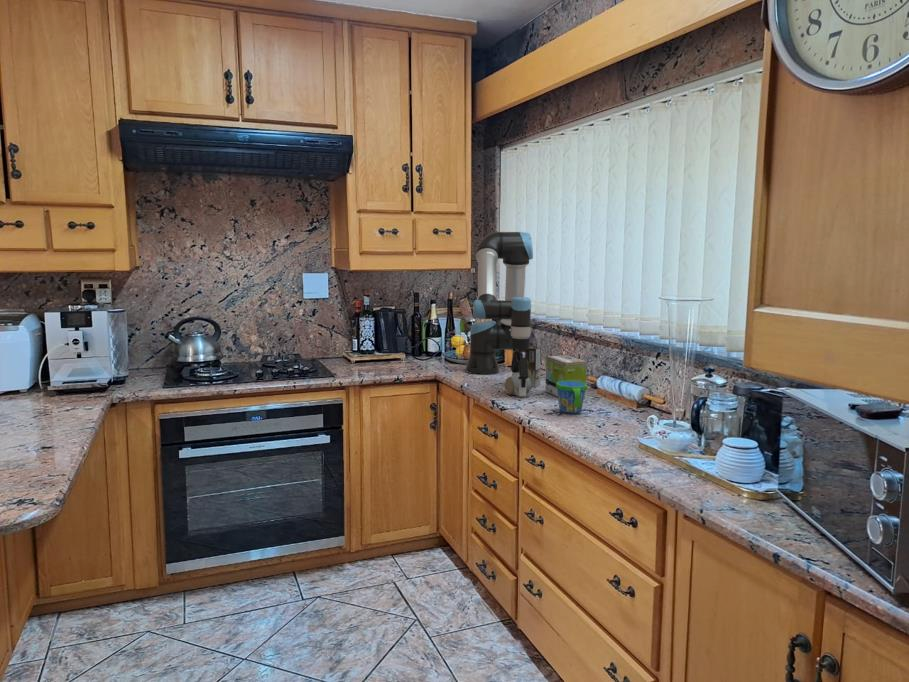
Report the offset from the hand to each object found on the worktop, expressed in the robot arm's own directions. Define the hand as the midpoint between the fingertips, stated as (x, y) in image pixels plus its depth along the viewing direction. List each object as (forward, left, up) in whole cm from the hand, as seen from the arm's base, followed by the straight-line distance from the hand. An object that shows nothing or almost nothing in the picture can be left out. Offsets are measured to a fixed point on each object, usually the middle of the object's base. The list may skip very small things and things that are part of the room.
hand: (518, 392), depth 260 cm
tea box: (+2, +18, -1) cm, 18 cm away
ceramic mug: (0, 0, -1) cm, 1 cm away
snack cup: (+29, +12, -1) cm, 31 cm away
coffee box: (-18, +8, -1) cm, 20 cm away
